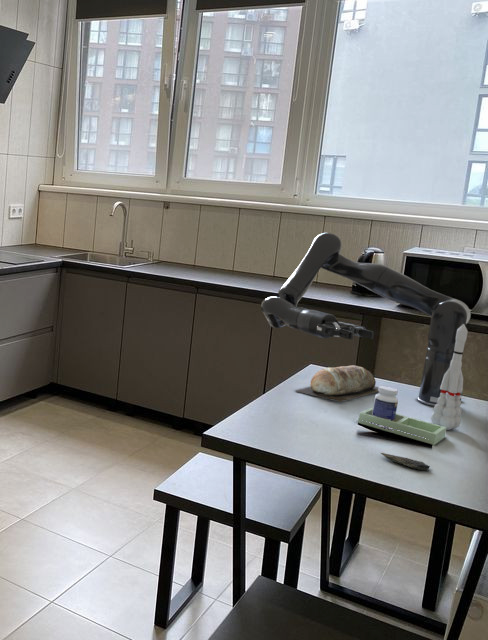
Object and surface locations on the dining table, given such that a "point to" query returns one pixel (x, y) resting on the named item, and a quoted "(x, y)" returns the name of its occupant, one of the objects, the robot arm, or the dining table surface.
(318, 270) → the robot arm
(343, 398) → the bread loaf
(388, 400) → the pill bottle
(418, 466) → the arrowhead
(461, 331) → the rocket model
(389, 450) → the dining table surface
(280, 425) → the dining table surface
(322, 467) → the dining table surface
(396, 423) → the holder
